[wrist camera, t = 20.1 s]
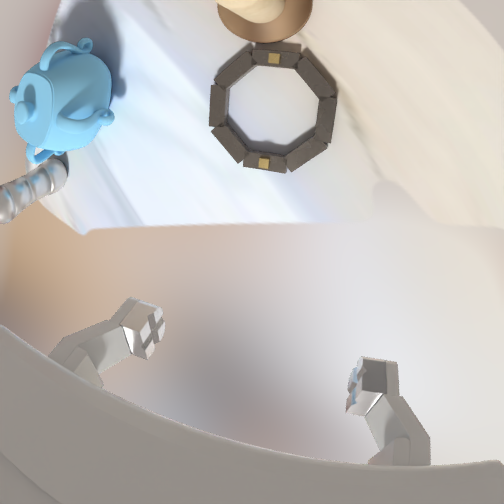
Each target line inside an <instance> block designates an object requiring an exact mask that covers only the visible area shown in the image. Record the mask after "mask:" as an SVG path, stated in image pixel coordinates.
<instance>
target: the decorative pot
mask: <svg viewBox="0 0 504 504" xmlns="http://www.w3.org/2000/svg"><path fill="white" fill-rule="evenodd" d="M92 47H93V42H92V40H91V39H89V38H82V39H81V40H80V41H79V42H78V44H77V47H76V46H74V45H72V44H70V43H68V42H63V41H58V42H55V43H53V44H51V45H50V46H49V47H48V48H47V49H46V50H45V51H44V53H43V55H42V57H41V59H40V62H39V63H37V64H36V65H35V66H33V67H32V68H31V69H30V70H28V71H27V72H26V73H25V74H24V76H23V77H22V79H21V81H20V84H19V86H15V87H13V88H12V89H11V91H10V96H9V99H10V101H11V102H12V103H15V111H14V117H15V126H16V130H17V132H18V134H19V135H20V136H21V137H22V138H23V139H24V140H25V141H27V142H28V144H27V147H26V155H27V158H28V159H29V161H30V162H32V163H34V164H39V163H42V162H43V161H45V160H46V159H48V158H49V157H50V156H51V155H52V154H55V155H57V156H58V155H62V154H63V153H64V152H65V151H70V150H75V149H79V148H82V147H84V146H86V145H88V144H89V143H90V142H91V141H92V140H93V139H94V137H95V136H96V134H97V133H98V131H99V129H100V127H101V125H106V126H107V125H110V124H111V123H112V122H113V121H114V113H113V112H112V111H111V110H110V109H108V107H109V103H110V97H111V87H112V80H111V74H110V71H109V69H108V67H107V66H106V65H105V63H104V62H103V61H102V60H100V59H99V58H98V57H96V56H94V55H92V54H90V52H91V50H92ZM59 49H66V50H65V51H61V52H58V53H55V52H56V51H57V50H59ZM54 53H55V54H54ZM36 147H38V148H42V149H44V150H43V151H42V152H40V153H39V154H37V155H35V156H34V153H35V148H36Z"/></svg>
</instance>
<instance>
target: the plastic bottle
mask: <svg viewBox="0 0 504 504" xmlns="http://www.w3.org/2000/svg"><path fill="white" fill-rule="evenodd" d="M66 180H67V171H66V168H65V166H64V164H63V163H62V162H61V161H60V160H58V159H49V160H46V161H44V162H43V163H41V164H40V165H39V166H38V167H37V168H35V169H33V170H32V171H30V172H29V173H27V174H26V175H24V176H22V177H20V178H18V179H15V180H13V181H11V182H8V183H5V184H3V185H0V224H5V223H8V222H10V221H11V220H13V219H14V218H15V217H16V216H17V215H18V214H19V213H20V212H21V211H22V210H24V209H25V208H26V207H28V206H29V205H30V204H32V203H33V202H35V201H36V200H39V199H41V198H43V197H45V196H47V195H51V194H53V193H56V192H58V191H59V190H60V189H61V188H62V187H63V186H64V185H65V182H66Z"/></svg>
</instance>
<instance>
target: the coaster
mask: <svg viewBox="0 0 504 504" xmlns="http://www.w3.org/2000/svg"><path fill="white" fill-rule="evenodd" d="M217 7H218V13H219V16H220V18H221V21H222V22H223V24H224V25H225V26H226V27H227V29H228V30H230V31H231V32H232V33H234V34H235V35H237V36H239V37H241V38H243V39H246V40H248V41H252V42H257V43H273V42H278V41H281V40H284V39H287V38H289V37H291V36H293V35H294V34H296V33H297V32H298V31H300V30H301V29H302V28H303V26H304V25H305V24H306V23H307V21H308V19H309V17H310V15H311V11H312V0H285V6H284V9H283V11H282V13H281V14H280V15H279V16H278V17H277V18H276V19H274V20H272V21H270V22H267V23H254V22H250V21H248V20H246V19H244V18H243V17H241V16H239V15H238V14H236V13H234V12H232V11H231V10H229V9H227V8H225V7H223V6H222V5H220V4H218V6H217Z"/></svg>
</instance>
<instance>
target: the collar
mask: <svg viewBox="0 0 504 504" xmlns="http://www.w3.org/2000/svg"><path fill="white" fill-rule="evenodd" d="M300 56H301V54H300V53H293V52H284V51H272V50H258V49H252V54H251V53H250V52H247V51H246V52H245V53H244V54H242V55H241V56H240V57H239V58H238V59H236V60H235V61H234V62H233V63H232V64H231V65H229V66H228V67H227V68H226V69H225V70H224V71H223V72H222V73H220V74H219V75H218V76H217V77H216V78H215V79H214V81H215V82H216V83H217V84H218V85H211V94H210V114H209V126H212V127H215V128H214V129H213V130H212V131H211V132H212V134H213V135H214V136H215V137H216V138H217V139H218V141H219V142H220V143H221V144H222V145H223V146H224V148H225V149H226V150H227V151H228V152H229V154H230V155H231V156H232V157H233V158H234V160H235V161H236V162H237V163H239V162H241V161H242V160H243V159H244V161H243V167H249V168H255V169H262V170H268V171H274V172H279V173H286V172H287V167H288V169H289V170H290V171H291V172H293V171H294V170H296V169H297V168H299V167H300V166H302V165H303V164H305V163H306V162H307V161H309V160H310V159H312V158H314V157H315V156H317V155H318V154H320V153H321V152H323V151H324V150H326V149H327V147H328V146H327V145H326V144H325V142H327V143H331V138H332V132H333V125H334V119H335V112H336V105H337V98H331V97H330V96H332V95H333V94H335V91H334V90H333V89H332V87H331V86H330V85H329V84H328V82H327V81H326V80H325V79H324V77H323V76H322V75H321V74H320V73H319V71H318V70H317V69H316V68H315V67H314V65H313V64H312V63H311V62H310V61H309V60H308V58H307V57H306V56H305V57H304V58H302V59H301V60H300ZM256 66H269V67H279V68H289V69H295V70H296V72H297V73H298V74H299V75H300V76H301V77H302V79H303V80H304V81H305V82H306V83H307V85H308V86H309V87H310V88H311V90H312V91H313V92H314V93H315V95H316V96H317V97H318V98H319V106H318V113H317V121H316V128H315V135H314V136H313V137H311V138H310V139H308V140H307V141H305V142H304V143H303V144H301V145H300V146H298V147H297V148H295V149H294V150H292V151H291V152H290V153H288V154H287V155H281V154H274V153H268V152H261V151H255V150H250V149H249V148H248V147H247V146H246V144H245V143H244V142H243V141H242V140H241V138H240V137H239V136H238V135H237V134H236V132H235V131H234V130H233V129H232V128H231V127H230V125H229V124H228V123H227V121H228V106H229V91H230V88H231V87H232V86H233V85H234V84H236V83H237V82H238V81H239V80H240V79H241V78H243V77H244V76H245V75H246V74H247V73H249V72H250V71H251V70H252V69H254V68H255V67H256Z"/></svg>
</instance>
